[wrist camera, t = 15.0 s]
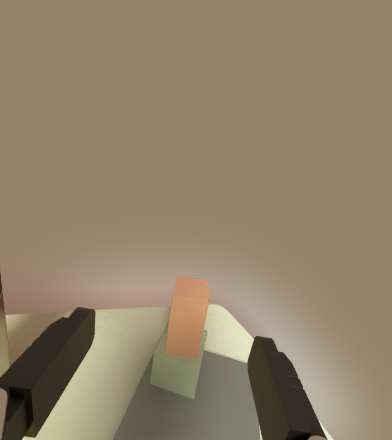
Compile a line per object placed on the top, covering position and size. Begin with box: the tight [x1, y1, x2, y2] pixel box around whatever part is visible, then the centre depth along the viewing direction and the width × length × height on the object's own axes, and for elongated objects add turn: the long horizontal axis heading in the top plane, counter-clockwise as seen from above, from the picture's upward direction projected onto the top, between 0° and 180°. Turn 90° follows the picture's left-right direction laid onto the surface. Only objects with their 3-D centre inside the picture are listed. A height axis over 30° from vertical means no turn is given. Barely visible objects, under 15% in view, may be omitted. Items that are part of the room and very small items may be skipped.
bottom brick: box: [150, 322, 207, 399], centre depth 33 cm, size 7×7×6 cm
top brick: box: [165, 276, 209, 358], centre depth 30 cm, size 5×5×10 cm
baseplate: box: [113, 351, 260, 440], centre depth 29 cm, size 18×18×1 cm
